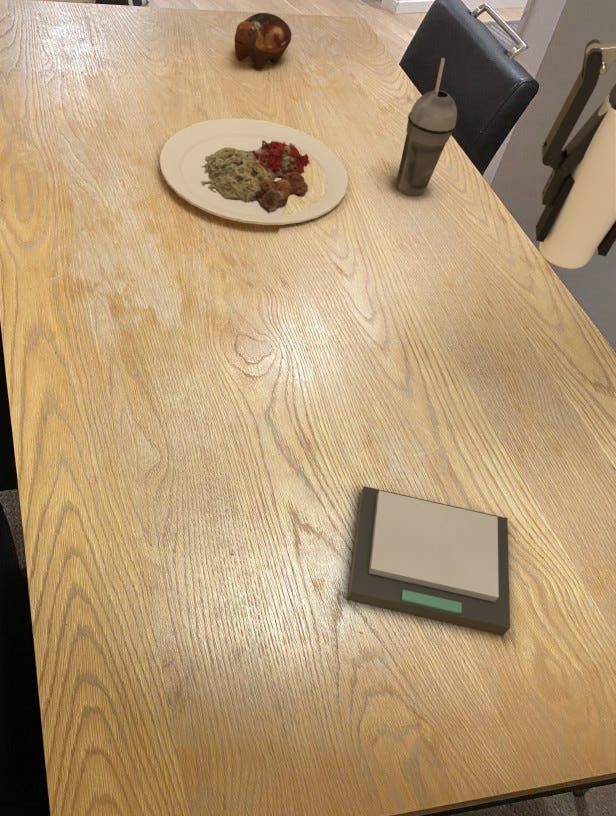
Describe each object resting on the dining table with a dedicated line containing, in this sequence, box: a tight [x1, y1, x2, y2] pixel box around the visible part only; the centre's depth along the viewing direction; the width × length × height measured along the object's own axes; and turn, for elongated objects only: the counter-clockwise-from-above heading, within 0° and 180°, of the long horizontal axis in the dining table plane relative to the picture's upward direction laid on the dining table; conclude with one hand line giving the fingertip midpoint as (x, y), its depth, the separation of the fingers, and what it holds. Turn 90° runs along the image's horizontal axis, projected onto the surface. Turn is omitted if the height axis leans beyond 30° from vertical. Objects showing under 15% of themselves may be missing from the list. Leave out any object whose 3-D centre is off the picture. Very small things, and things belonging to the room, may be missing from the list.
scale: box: [346, 485, 511, 637], centre depth 80 cm, size 16×14×4 cm
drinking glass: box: [538, 93, 616, 270], centre depth 73 cm, size 7×7×15 cm
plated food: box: [159, 117, 349, 226], centre depth 120 cm, size 30×30×3 cm
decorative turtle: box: [234, 12, 292, 71], centre depth 142 cm, size 10×15×8 cm, turn 143°
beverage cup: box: [395, 57, 458, 198], centre depth 115 cm, size 7×7×20 cm
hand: (570, 240), depth 78 cm, fingers closed on drinking glass, 6 cm apart
